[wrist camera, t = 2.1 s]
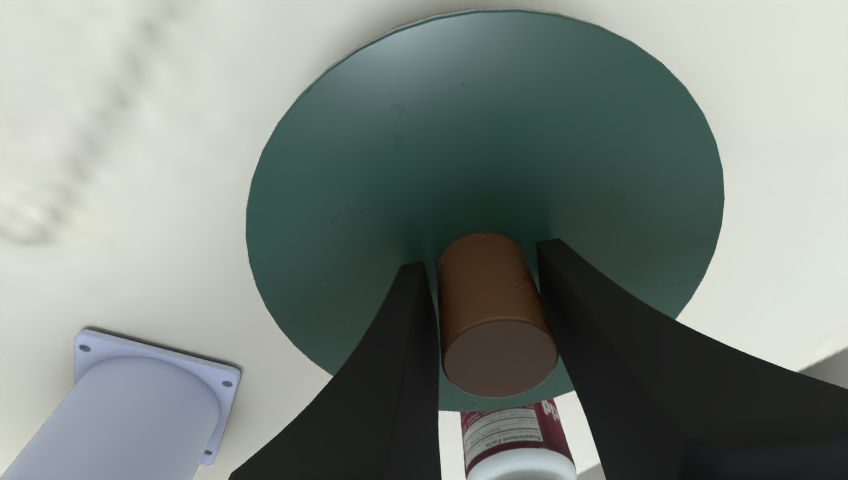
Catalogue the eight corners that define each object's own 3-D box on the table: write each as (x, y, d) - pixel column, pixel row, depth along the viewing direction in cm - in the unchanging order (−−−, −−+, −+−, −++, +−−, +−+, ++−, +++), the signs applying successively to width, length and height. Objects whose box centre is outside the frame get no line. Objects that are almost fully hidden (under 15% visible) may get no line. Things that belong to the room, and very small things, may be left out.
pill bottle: (546, 391, 24) (599, 563, 17) (465, 404, 25) (484, 576, 18) (538, 333, 22) (594, 507, 15) (448, 349, 23) (461, 524, 16)
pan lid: (677, 358, 16) (757, 480, 12) (340, 409, 17) (318, 532, 14) (740, -64, 9) (976, -85, 5) (167, 78, 10) (24, 143, 7)
